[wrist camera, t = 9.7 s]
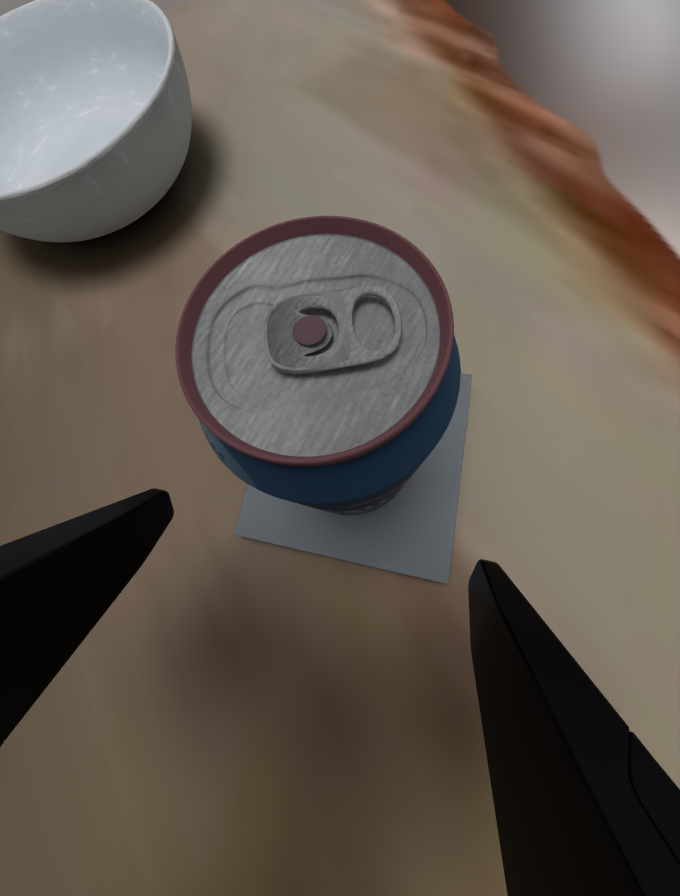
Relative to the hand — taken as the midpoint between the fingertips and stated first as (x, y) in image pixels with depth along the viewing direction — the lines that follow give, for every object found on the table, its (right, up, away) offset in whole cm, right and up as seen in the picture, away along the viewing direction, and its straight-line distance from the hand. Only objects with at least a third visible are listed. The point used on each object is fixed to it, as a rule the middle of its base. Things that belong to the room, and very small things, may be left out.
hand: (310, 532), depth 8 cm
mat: (+2, +2, +10) cm, 10 cm away
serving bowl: (-20, +26, +19) cm, 38 cm away
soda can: (+1, +2, +9) cm, 10 cm away
